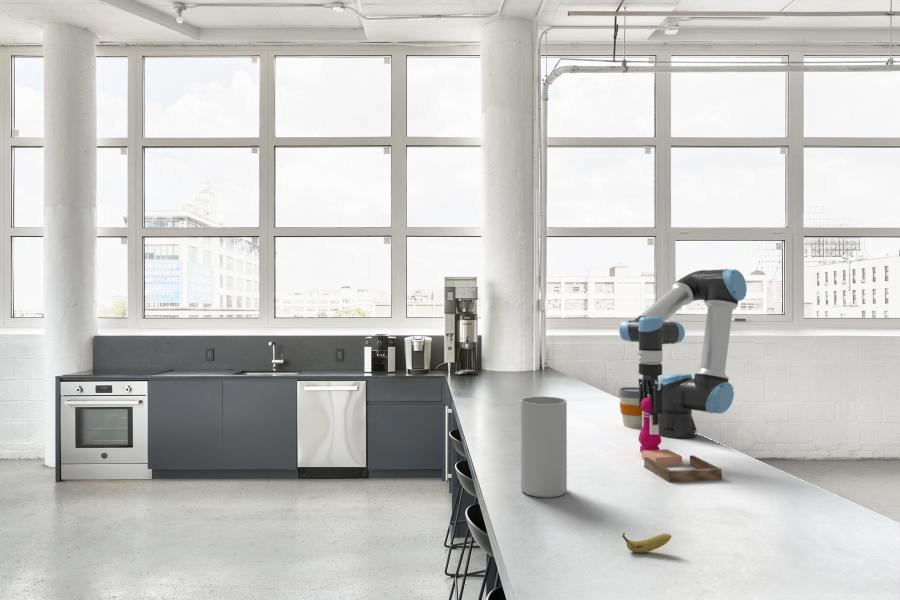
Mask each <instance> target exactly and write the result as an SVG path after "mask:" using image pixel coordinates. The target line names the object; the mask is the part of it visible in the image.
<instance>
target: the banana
mask: <svg viewBox="0 0 900 600" xmlns="http://www.w3.org/2000/svg"><path fill="white" fill-rule="evenodd" d="M625 535H626V533H624V532H623V533H622V536H621V537H622V538H623V540H624V541H625V542H626V543H625V544H626V547H627V549H628V550H629V551H630V552H633V553H636V554H637V553H639V554H641V553H643V554H644V553H648V552H652V551H654V550H657V549H659V548H661V547H663V546H665V545H666V544H668V543H669V542H670V540H671V538H672V535H671V533H670V534H669V533H662V534H658V535H656V536H652V537H650V538H647V539H643V540H629V539H628V538H627V537H626V536H625Z"/></svg>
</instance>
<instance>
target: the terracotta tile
mask: <svg viewBox="0 0 900 600" xmlns="http://www.w3.org/2000/svg"><path fill="white" fill-rule="evenodd" d="M644 457H648V458H650V459H652V460H653V461H655V462H657V463H659V464H660V465H662V466H664V467H669V466H670V467H671V466H682V465H683V456H682V455H680V454H678V453H676V452H674V451H671V450H670V449H667V448H666V449H660V450H644V451H642V453H641V459H642V460H643V461H644Z"/></svg>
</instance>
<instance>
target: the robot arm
mask: <svg viewBox="0 0 900 600" xmlns="http://www.w3.org/2000/svg"><path fill="white" fill-rule="evenodd" d="M746 295H747V282H746V278H745V277H744V275H743V274H742V272H741V271H740V270H738V269H736V268H735V269H730V268H729V269H728V268H723V269H706V270H705V269H701V270H696V271H692V272H691V273H690V272H689V274H687V275H684V276H683V277H681V278H679V280H677V281H675V282H674V283H673V284H672V285H671V286H670V289H669V291H667V292H666V293H665V294H664V295H663V296H661V297H660V298H659V299H658V300H657V301H655V302H653V304H651V306H649V307H648V308H647V309H645V310H644V311H643V312H641V314H640V315H638V316H637V317H636V318H635V319H633V320H631V319H629V320H624V321H622V322H621V324H620V326H619V329H618V330H619V335H620V338H621V339H622V340H624V341H625V342H630V343H631V342H632V343H634V342H635V343H638V353H637V356H638V362H640V363H638V374H639V375H641V376H642V378H638V388H639V408H641V402H642V400H643V399H644V398H648V396H647V395H648V394H649V397H650V404H651V413H649V415H650V434H651V435H653V434H659V433H660V436H661V437H666V438H672V439H674V438H675V439H692V438H695V437H697V434H698V433H697V427H696V424H695V420H694V418H693V415H692V414H693V413H692V412H693V411H698V412H705V413H708V414H720V415H721V414H724V413H725V412H727V411H728V410H729V409H730V407H731V405H732V403H733V402H734V401H733V400H734V396H735V395H734V394H735V391H734V386H733V385H732V384H731V383H730V382H729V377H728V376H727V375H726V369H727V367H726V366H727V359H728V358H727V357H728V350H729V344H730V343H729V342H730V335H731V328H732V319H733V312H734V310H735V309H736V308H738V306H739V302H740V301H742V300H744V299H745V297H747V296H746ZM694 301H704V304H705V305H706V307H707V313H706V319H705V320H706V321H705V328H704V336H703V343H702V349H701V351H702V352H701V360H700V366H699V369H698V371H696V372H695V373H694V378H693V376H692V374H690V373H677V374H676V373H675V374H666V375H663V364H662V362H663V345H675V344H678V343H680V342H681V343H682V341H683V340H684V337H685V336H686V331H685V328H684V326H683V325H682V324H681V323H679V322H677V321H667V320H668V319H670V318H671V317H672V316H673V315H674V314H675V313H677V311H678V310H680V309H681V308H682V307H683V306H686V305H689V304H691V303H692V302H694ZM659 376H661V377H660V379H659ZM641 410H642V412H643V409H642V408H641ZM642 414H643V413H642ZM643 424H644V416H642V427H643ZM695 433H696V434H695Z"/></svg>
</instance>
